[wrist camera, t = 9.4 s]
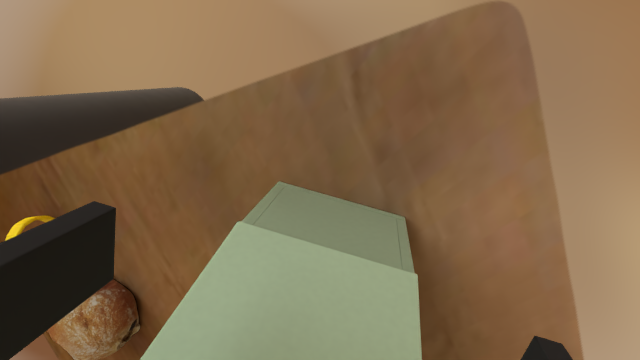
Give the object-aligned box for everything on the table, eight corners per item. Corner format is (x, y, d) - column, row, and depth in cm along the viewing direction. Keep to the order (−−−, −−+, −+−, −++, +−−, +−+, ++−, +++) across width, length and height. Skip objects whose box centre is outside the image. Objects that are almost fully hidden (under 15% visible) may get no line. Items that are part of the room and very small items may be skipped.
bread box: (360, 341, 38) (354, 429, 28) (252, 306, 39) (212, 380, 29) (404, 216, 32) (415, 274, 23) (278, 181, 33) (240, 222, 24)
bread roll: (144, 325, 47) (131, 377, 40) (57, 326, 44) (26, 383, 37) (149, 267, 44) (136, 312, 37) (56, 263, 41) (21, 312, 34)
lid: (431, 754, 9) (657, 793, 4) (-1, 574, 10) (-157, 462, 6) (414, 282, 23) (464, 180, 19) (237, 229, 24) (245, 121, 20)
